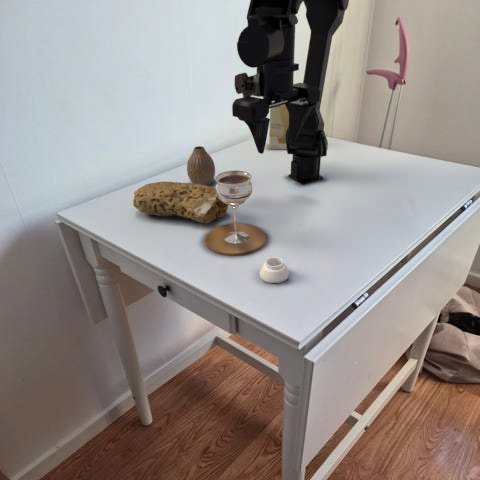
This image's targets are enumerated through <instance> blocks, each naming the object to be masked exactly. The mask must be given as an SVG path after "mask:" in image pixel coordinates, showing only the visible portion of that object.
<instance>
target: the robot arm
mask: <svg viewBox="0 0 480 480" xmlns="http://www.w3.org/2000/svg"><path fill="white" fill-rule="evenodd" d="M349 3H350V0H250V1H249V5H248V9H247V13H246V20H247V25H246V27H244V28H243V29H242V30H241V32H240V34H239V36H238V39H237V42H236V51H237V54H238V58H239V59H240V61H241V62H242V63H243V64H244V65H245V66H246V67H249V68H254V69H255V68H256V74H253V75H248V73H247V72H241V73H238V74H236V75H234V89H235V93H236V94H238V95H241V94H242V97H239V98H236V99H234V101H233V102H232V104H231V109H232V110H231V113H232V117H234V118H237V119H238V120H239V121H242V122H244V123H245V124H246V126H247V127H248V129H249V132H250V133H251V136H252V139H253V141H254V144H255V147H256V150H257V152H258V153H259V154H261V155H263V154H264V152H265V149H266V144H267V138H268V134H269V128H270V117H268V115H269V114H270V108H273V107H277V106H280V105H283V104H285V106H286V108H287V110H288V112H289V126H288V129H287V131H286V147H287V149H286V154H287V155H292V160H291V162H290V174H288V175H287V177H288V178H289V179H292V180H293V181H295V182H296V183H298V184H300V185H302V186H303V185H304V186H305V185H307V184H310V183H311V184H312V183H314V182H319V181H321V180H324V176H322V175H321V174H320V172H321V159H322V157H327V155H328V149H329V148H328V146H329V142H328V139H327V135H326V132H325V120H324V118H323V116H322V113H321V105H322V99H323V93H324V87H325V82H326V77H327V69H328V63H329V59H330V53H331V48H332V47H331V46H332V41H333V36H334V35H335V33H336V32H337V31H338V29H339V28H340V27H341V25H342V24H343V21H344V17H345V12H346V11H347V9H348V7H349ZM302 4H304V6H305V9H306V10H305V19H306V20H307V24H308V27H309V30H310V35H309V40H308V41H309V42H308V49H307V55H306V61H305V68H304V75H303V81H302V82H297V83H294V79H295V78H294V77H295V75H294V74H295V72H296V71H299V70H300V63H297V62H295V49H296V48H295V46H296V42H295V41H296V25H298V23H299V19H298V16H297V15H298V13H299V10H300V7H301V5H302ZM261 97H262V98H261ZM272 101H274V102H272Z"/></svg>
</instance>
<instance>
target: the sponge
mask: <svg viewBox="0 0 480 480" xmlns="http://www.w3.org/2000/svg"><path fill="white" fill-rule="evenodd" d="M215 189H216V187H212V186H210V185H207V186H206V185H200V184H193V183H192V182H191V183H190V182H177V181H156V182H151V183H150V182H149V183H147V184H145V185H143V186H141V187H139V188H138V189H137V190H135V191H133V195H134V196H133V198H132V205H133V207H134V208H135V209H137V210H138V211H139V212H140V213H144V214H146V215H152V216H157V217H173V216H178V217H182V218H187V219H190V220H193V221H195V222H198V223H202V224H209V223H212V222H213V221H215V220H216V219H221V218H223V217H225V215H226V214H227V212H228V209H229V206H230V205H226V204H224V203H223V202H222V201H221V200H220V199H219V198H218V196H217V194H216V190H215Z"/></svg>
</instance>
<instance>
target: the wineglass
mask: <svg viewBox="0 0 480 480" xmlns="http://www.w3.org/2000/svg"><path fill="white" fill-rule="evenodd" d="M252 177H253V176H252V174H251V173H250V172H248V171H244V170H238V169H237V170H236V169H235V170H226V171H223V172H220V173H218V174H215V176H214V180H215V182H216V184H215V190H216V194H217V196H218V198H219V199H220V200H221V201H222V202H223V203H224V204H226V205H229V206H230V208H232V215H233V222H234V223H233V224H234V225H235V231H233V232H229V233H227V234H226V235H225V236H224V239H225V241H227V242H229V243H242V242H245V241H246V240H248V238H249V235H248V234H247V233H245V232H242V231H237V224H238V208H239V206H241V205H243V204H245V203H246V202H247V201H248V200H249V199H250V198H251V195H252V194H253V183H252V182H251V179H252Z"/></svg>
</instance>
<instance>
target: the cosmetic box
mask: <svg viewBox="0 0 480 480" xmlns="http://www.w3.org/2000/svg"><path fill="white" fill-rule="evenodd" d="M272 102H274V101H272ZM269 119H270V122H269V133H268V134H269V135H268V137H269V140H268V149H270V150H287V147H286V131H287V129H288V126H289V112H288V110H287V108H286V106H285V104H283V105H280V106H277V107H273V108H270V109H269Z"/></svg>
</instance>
